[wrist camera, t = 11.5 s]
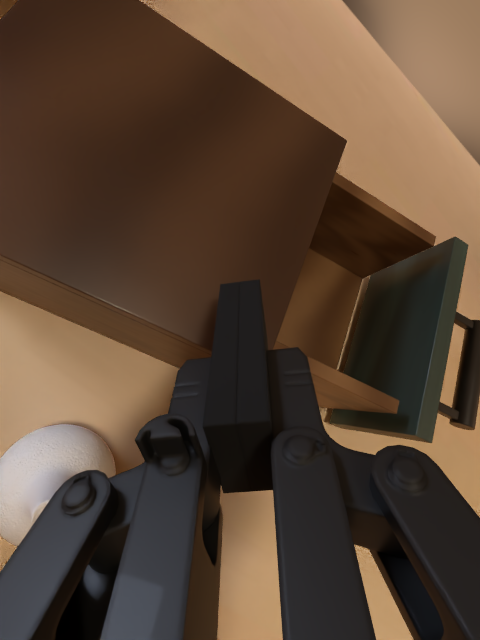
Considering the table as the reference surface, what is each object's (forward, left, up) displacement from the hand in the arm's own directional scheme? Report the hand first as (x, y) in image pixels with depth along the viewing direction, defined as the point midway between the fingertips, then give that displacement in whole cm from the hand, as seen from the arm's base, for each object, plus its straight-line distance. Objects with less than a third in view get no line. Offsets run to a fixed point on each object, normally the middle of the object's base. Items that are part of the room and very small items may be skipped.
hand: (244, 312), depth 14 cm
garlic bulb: (+10, -4, -12) cm, 16 cm away
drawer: (-6, +9, -11) cm, 15 cm away
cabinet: (-6, -6, -12) cm, 15 cm away
